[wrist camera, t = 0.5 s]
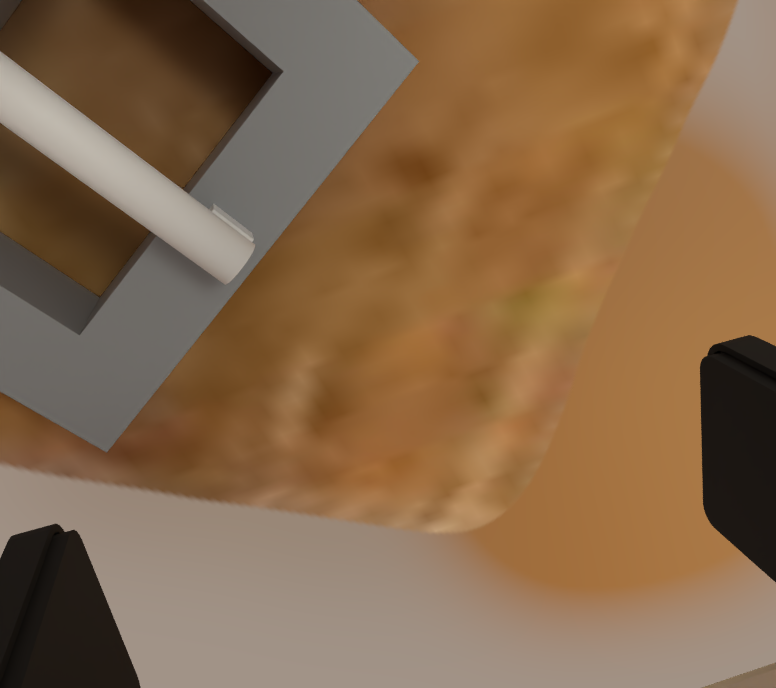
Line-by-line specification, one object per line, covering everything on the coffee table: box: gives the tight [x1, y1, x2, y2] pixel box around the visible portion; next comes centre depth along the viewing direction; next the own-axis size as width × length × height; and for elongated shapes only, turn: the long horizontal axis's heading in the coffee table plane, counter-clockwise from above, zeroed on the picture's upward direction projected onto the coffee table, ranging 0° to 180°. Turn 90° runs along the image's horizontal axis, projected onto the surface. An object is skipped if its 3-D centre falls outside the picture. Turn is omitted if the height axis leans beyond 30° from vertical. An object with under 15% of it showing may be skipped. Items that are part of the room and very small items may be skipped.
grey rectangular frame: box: [0, 0, 419, 452], centre depth 30 cm, size 22×18×10 cm
